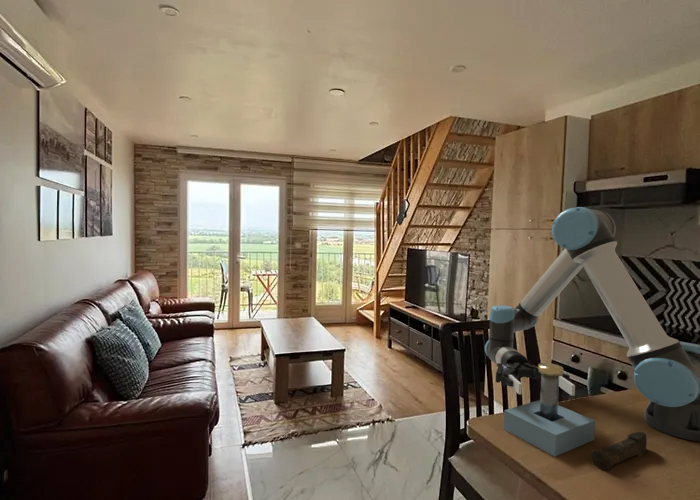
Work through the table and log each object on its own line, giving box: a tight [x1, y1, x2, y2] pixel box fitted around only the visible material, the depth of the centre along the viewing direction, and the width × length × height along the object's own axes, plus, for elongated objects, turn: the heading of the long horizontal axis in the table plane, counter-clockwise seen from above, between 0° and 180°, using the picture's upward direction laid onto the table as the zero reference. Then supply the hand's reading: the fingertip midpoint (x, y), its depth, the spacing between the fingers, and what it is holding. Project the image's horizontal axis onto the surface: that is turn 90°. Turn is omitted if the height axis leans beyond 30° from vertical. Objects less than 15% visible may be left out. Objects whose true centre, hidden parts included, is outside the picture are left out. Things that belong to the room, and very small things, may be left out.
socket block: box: [503, 399, 596, 457], centre depth 99 cm, size 14×16×5 cm
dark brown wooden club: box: [590, 431, 648, 471], centre depth 89 cm, size 19×4×5 cm, turn 115°
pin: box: [537, 362, 564, 422], centre depth 99 cm, size 6×6×16 cm
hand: (546, 389), depth 100 cm, fingers open, 13 cm apart
